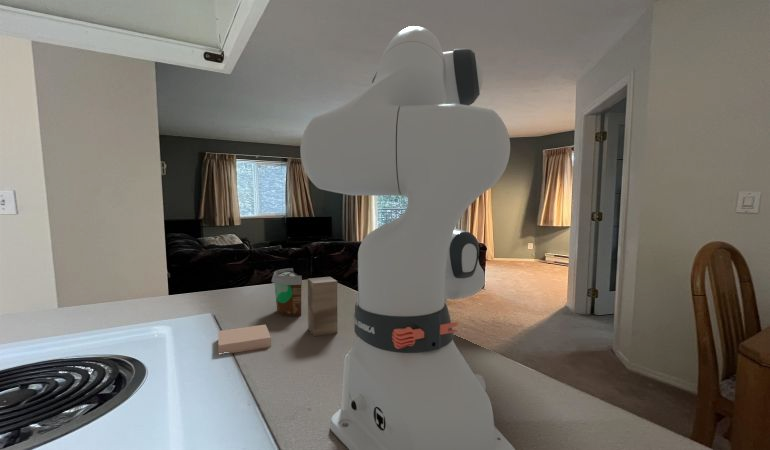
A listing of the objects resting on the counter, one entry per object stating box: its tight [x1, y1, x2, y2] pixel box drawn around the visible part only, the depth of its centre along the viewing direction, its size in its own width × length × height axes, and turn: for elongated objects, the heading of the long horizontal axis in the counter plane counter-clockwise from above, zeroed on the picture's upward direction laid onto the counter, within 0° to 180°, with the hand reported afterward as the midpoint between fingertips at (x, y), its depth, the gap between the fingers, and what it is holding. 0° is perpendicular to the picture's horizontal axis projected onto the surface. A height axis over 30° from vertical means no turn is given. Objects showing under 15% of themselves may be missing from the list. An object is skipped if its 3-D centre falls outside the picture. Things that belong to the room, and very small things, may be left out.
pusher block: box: [307, 276, 338, 337], centre depth 75 cm, size 5×5×11 cm
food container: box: [271, 267, 303, 317], centre depth 88 cm, size 12×6×10 cm, turn 25°
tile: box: [217, 324, 272, 354], centre depth 68 cm, size 8×2×9 cm
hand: (374, 290), depth 80 cm, fingers open, 8 cm apart
